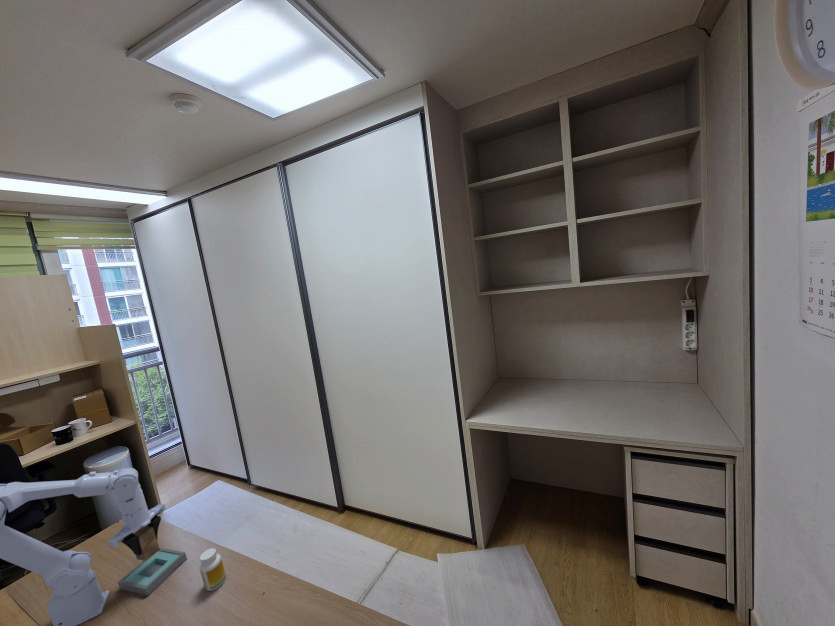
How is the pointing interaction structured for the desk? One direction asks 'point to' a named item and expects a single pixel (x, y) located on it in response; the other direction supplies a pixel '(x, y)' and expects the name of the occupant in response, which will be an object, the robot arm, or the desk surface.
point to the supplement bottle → (212, 569)
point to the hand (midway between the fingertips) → (146, 547)
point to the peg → (147, 543)
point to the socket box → (152, 572)
